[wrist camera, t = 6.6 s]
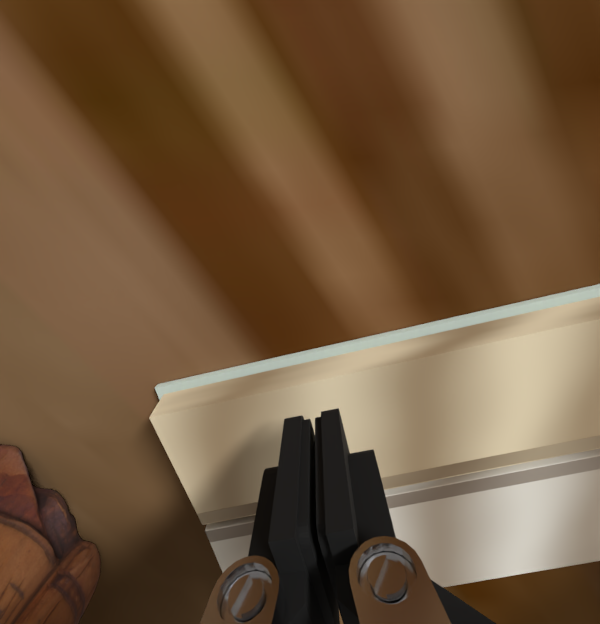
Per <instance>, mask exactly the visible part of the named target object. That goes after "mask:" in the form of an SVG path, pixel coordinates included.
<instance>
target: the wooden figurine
mask: <svg viewBox="0 0 600 624" xmlns="http://www.w3.org/2000/svg"><path fill="white" fill-rule="evenodd" d="M100 565H101V559H100V555H99V552H98V549H97V547H96V545H95V544H93V543H91V542H88V541H83V540H82V539H81V538H80V536H79V534H78V532H77V527H76V521H75V518H74V516H73V515H71V514H70V513H69V511H68V507H67V505H66V503H65V501H64V499H63V498H62V496H61V495H60V494H59V493H58V492H57V491H54V490H52V489H42V488H38V487H35V486H33V485H32V483H31V480H30V477H29V472H28V469H27V467H26V465H25V463H24V459H23V456H22V453H21V451H20V450H19V449H18V447H15V446H11V445H1V444H0V624H79V621H80V618H81V617H82V615H83V614H84V612H85V610H86V608H87V606H88V604H89V602H90V599H91V597H92V595H93V593H94V591H95V589H96V586H97V583H98V580H99V576H100V571H101V570H100Z"/></svg>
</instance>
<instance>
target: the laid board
mask: <svg viewBox="0 0 600 624" xmlns="http://www.w3.org/2000/svg"><path fill="white" fill-rule="evenodd" d="M384 492H385V496H386V500H387V504H388V508H389V512H390V516H391V520H392V524H393V528H394V532H395V536H396V538H397V539H399V540H402V541H404V542H406V543H407V544H408V545H409V546H411V547H412V548H413V549H414V550H415V551H416V553H417V554H418V556H419V557H420V559H421V560H422V562H423V565H424V567H425V569H426V571H427V573H428V575H429V577H430V579H431V580H432V581H434V582H435V583H437V584H438V585H440V586H441V587H448V586H454V585H460V584H465V583H471V582H477V581H483V580H489V579H495V578H501V577H507V576H513V575H518V574H524V573H530V572H536V571H542V570H548V569H554V568H560V567H566V566H572V565H577V564H583V563H589V562H595V561H600V448H599V449H594V450H589V451H584V452H579V453H573V454H568V455H563V456H558V457H553V458H548V459H542V460H537V461H532V462H527V463H522V464H516V465H511V466H506V467H501V468H496V469H490V470H485V471H480V472H475V473H470V474H465V475H459V476H454V477H449V478H444V479H439V480H433V481H428V482H423V483H418V484H413V485H407V486H402V487H397V488H392V489H387V490H384ZM254 520H255V515H252V516H247V517H241V518H236V519H231V520H226V521H221V522H215V523H210V524H207V525H206V528H205V532H206V535H207V537H208V539H209V542H210V544H211V546H212V549H213V551H214V553H215V556H216V558H217V560H218V563H219V565H220V567H221V570H222V572H224V571H225V570H226V569H227V568H228V567H229V566H231V565H232V564H233V563H234V562H236V561H238V560H240V559H242V558H244V557H248V553H249V548H250V542H251V537H252V531H253V526H254Z"/></svg>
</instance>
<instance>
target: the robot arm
mask: <svg viewBox="0 0 600 624" xmlns="http://www.w3.org/2000/svg"><path fill="white" fill-rule="evenodd" d="M339 610H340V614H341V617H342V620H343V623H344V624H496V623H494V622H493V621H491V620H490V619H488V618H487V617H485V616H484V615H482V614H481V613H479V612H478V611H477V610H475V609H474V608H472V607H471V606H469V605H468V604H466V603H465V602H463V601H462V600H460V599H459V598H457V597H456V596H454V595H453V594H452V593H450V592H449V591H447V590H446V589H444V588H443V587H441V586H440V585H438V584H437V583H435V582H434V581H432V580H431V579H430V577H429V575H428V573H427V571H426V569H425V567H424V565H423V562H422V560H421V559H420V557H419V556H418V554H417V553H416V551H415V550H414V549H413V548H412V547H411V546H409V545H408V544H407V543H406V542H404V541H402V540H399V539H397V538H396V536H395V532H394V528H393V524H392V520H391V516H390V512H389V508H388V504H387V500H386V496H385V492H384V488H383V484H382V480H381V476H380V472H379V468H378V464H377V460H376V456H375V453H374V449H372V450H367V451H361V452H355V453H350V452H349V448H348V444H347V440H346V436H345V431H344V427H343V423H342V419H341V415H340V411H339V408H337V409H332V410H327V411H322V412H321V417H317V418H315V434H314V430H313V426H312V423H311V420H310V419H306V420H304V417H303V416H302V415H301V416H296V417H291V418H285V419H284V425H283V432H282V440H281V447H280V455H279V463H278V466H277V467H271V468H266V469H265V470H264V473H263V477H262V482H261V488H260V493H259V499H258V504H257V510H256V515H255V520H254V526H253V531H252V537H251V542H250V548H249V553H248V557H244V558H242V559H240V560H238V561H236V562H234V563H233V564H232V565H231V566H229V567H228V568H227V569H226V570H225V571H224V572H223V574H222V575H221V576H220V577H219V579H218V580H217V582H216V584H215V586H214V588H213V590H212V593H211V595H210V598H209V600H208V603H207V606H206V608H205V611H204V614H203V616H202V619H201V621H200V624H340V623H339Z"/></svg>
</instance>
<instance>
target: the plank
mask: <svg viewBox="0 0 600 624" xmlns="http://www.w3.org/2000/svg"><path fill="white" fill-rule="evenodd" d="M337 408H339V411H340V415H341V419H342V423H343V427H344V431H345V436H346V440H347V444H348V448H349V452H350V453H355V452H361V451H367V450H372V449H374V453H375V456H376V460H377V464H378V468H379V472H380V476H381V480H382V484H383V488H384V490H387V489H392V488H397V487H402V486H407V485H413V484H418V483H423V482H428V481H433V480H439V479H444V478H449V477H454V476H459V475H465V474H470V473H475V472H480V471H485V470H490V469H496V468H501V467H506V466H511V465H516V464H522V463H527V462H532V461H537V460H542V459H548V458H553V457H558V456H563V455H568V454H573V453H579V452H584V451H589V450H594V449H599V448H600V297H596V298H591V299H587V300H582V301H578V302H573V303H569V304H564V305H560V306H556V307H551V308H547V309H542V310H538V311H533V312H529V313H524V314H520V315H515V316H511V317H506V318H502V319H497V320H493V321H489V322H484V323H480V324H475V325H471V326H466V327H462V328H457V329H453V330H448V331H444V332H439V333H435V334H431V335H426V336H422V337H417V338H413V339H408V340H404V341H399V342H395V343H390V344H386V345H381V346H377V347H372V348H368V349H364V350H359V351H355V352H350V353H346V354H341V355H337V356H332V357H328V358H323V359H319V360H314V361H310V362H306V363H301V364H297V365H292V366H288V367H283V368H279V369H274V370H270V371H265V372H261V373H256V374H252V375H247V376H243V377H239V378H234V379H230V380H225V381H221V382H216V383H212V384H207V385H203V386H198V387H194V388H189V389H185V390H180V391H176V392H172V393H167V394H163V396H162V398H161V399H160V401H159V402H158V404H157V406H156V407H155V409H154V411H153V412H152V414H151V415H150V417H149V418H150V420H151V422H152V424H153V426H154V429H155V431H156V433H157V435H158V437H159V439H160V441H161V443H162V445H163V447H164V449H165V451H166V453H167V455H168V457H169V459H170V461H171V463H172V465H173V467H174V469H175V471H176V473H177V475H178V477H179V479H180V481H181V483H182V485H183V487H184V489H185V491H186V493H187V495H188V497H189V499H190V501H191V503H192V505H193V507H194V509H195V511H196V513H197V515H198V517H199V519H200V521H201V523H202V525H205V524H210V523H215V522H221V521H226V520H231V519H236V518H241V517H247V516H252V515H256V510H257V504H258V499H259V493H260V488H261V482H262V477H263V473H264V470H265V469H266V468H271V467H277V466H278V463H279V455H280V447H281V440H282V432H283V425H284V419H285V418H291V417H296V416H301V415H302V416H303V417H304V420H306V419H310V420H311V423H312V426H313V430H314V434H315V418H317V417H321V412H322V411H327V410H332V409H337Z"/></svg>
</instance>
